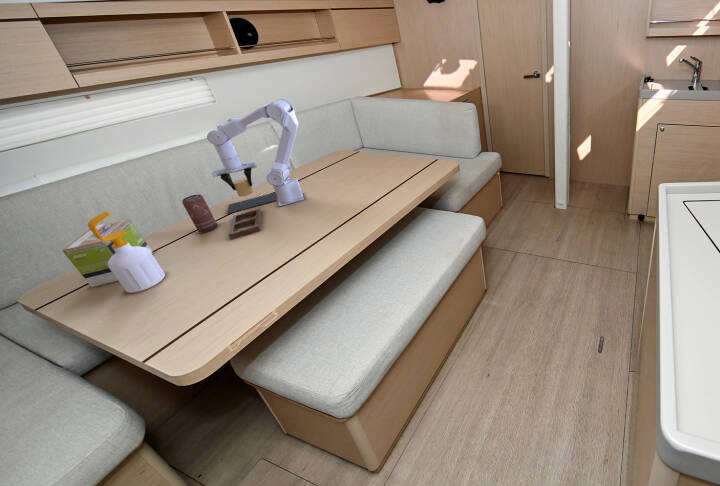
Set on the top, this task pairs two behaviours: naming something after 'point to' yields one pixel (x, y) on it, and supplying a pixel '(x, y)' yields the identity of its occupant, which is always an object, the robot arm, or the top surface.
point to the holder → (245, 223)
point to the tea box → (101, 251)
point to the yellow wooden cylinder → (242, 187)
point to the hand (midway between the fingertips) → (243, 187)
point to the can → (199, 213)
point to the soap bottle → (129, 260)
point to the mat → (252, 203)
